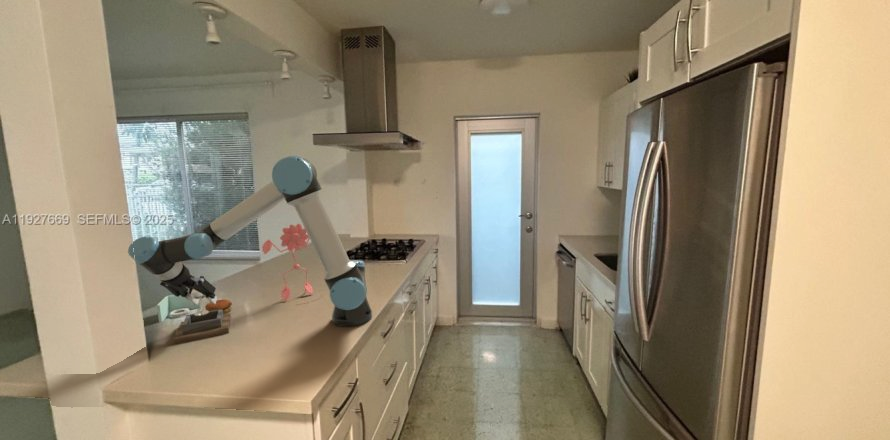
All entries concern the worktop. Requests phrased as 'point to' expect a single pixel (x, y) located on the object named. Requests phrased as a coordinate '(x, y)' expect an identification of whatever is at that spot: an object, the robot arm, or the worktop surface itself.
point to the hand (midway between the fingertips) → (206, 301)
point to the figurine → (293, 240)
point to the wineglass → (199, 296)
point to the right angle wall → (174, 307)
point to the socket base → (203, 326)
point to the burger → (220, 306)
